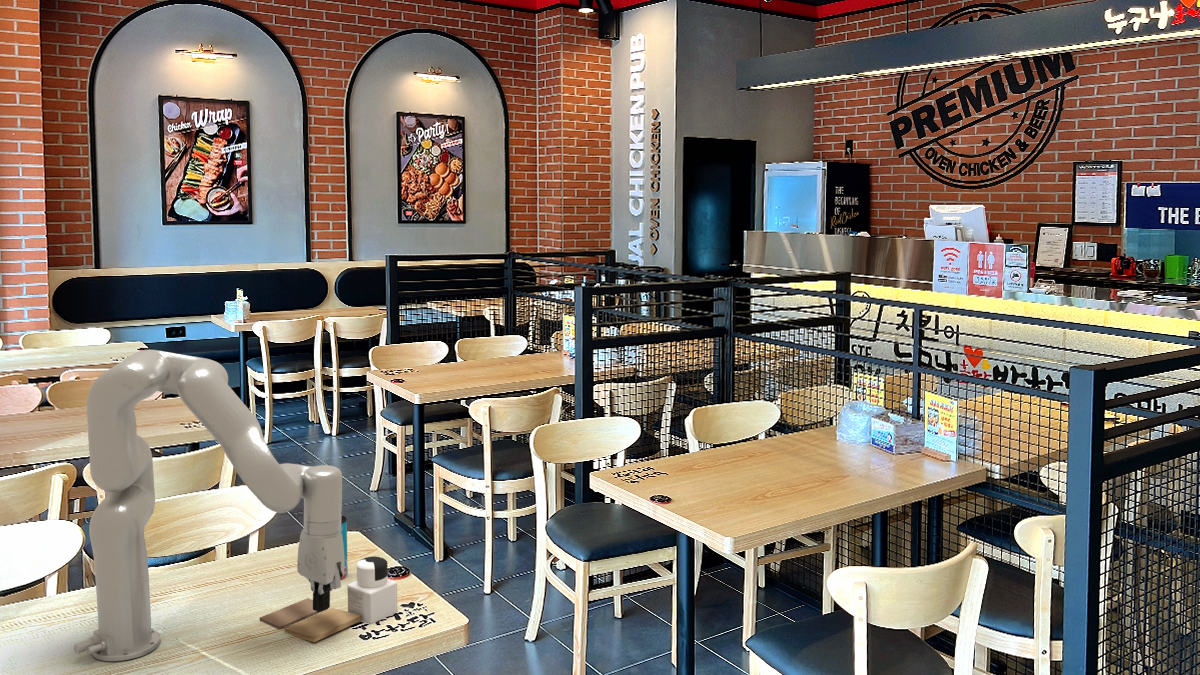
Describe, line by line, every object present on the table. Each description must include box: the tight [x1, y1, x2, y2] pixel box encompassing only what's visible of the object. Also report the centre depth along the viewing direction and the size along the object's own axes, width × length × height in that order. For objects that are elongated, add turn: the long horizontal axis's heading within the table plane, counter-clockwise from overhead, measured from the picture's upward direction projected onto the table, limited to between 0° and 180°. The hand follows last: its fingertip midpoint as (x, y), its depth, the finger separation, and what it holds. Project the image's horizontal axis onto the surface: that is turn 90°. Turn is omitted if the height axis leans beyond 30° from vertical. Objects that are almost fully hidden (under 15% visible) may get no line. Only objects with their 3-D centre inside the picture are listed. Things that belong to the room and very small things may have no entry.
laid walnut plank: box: [258, 597, 328, 630], centre depth 206 cm, size 13×18×1 cm
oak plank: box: [283, 607, 362, 643], centre depth 204 cm, size 13×10×1 cm
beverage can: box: [340, 515, 349, 581], centre depth 229 cm, size 6×6×15 cm
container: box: [346, 556, 398, 625], centre depth 210 cm, size 8×8×13 cm
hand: (321, 608), depth 203 cm, fingers closed
